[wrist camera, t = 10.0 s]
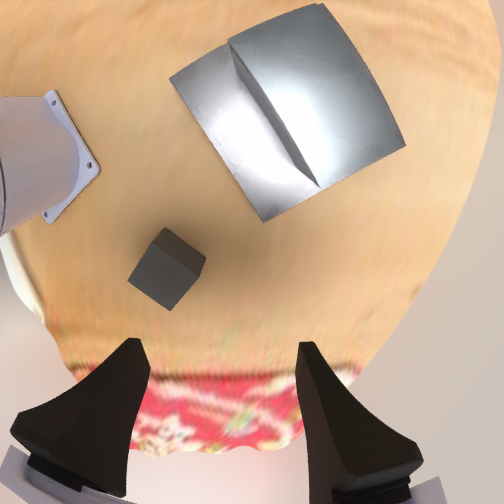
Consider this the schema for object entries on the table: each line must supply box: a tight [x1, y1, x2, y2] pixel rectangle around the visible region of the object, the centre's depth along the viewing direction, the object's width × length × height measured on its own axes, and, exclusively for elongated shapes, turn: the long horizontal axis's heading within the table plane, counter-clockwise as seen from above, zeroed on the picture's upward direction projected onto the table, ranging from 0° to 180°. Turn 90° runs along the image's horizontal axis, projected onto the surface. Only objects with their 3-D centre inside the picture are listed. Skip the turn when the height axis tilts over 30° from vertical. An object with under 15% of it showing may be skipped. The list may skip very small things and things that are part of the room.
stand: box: [169, 3, 406, 223], centre depth 15 cm, size 11×11×2 cm
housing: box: [227, 3, 400, 189], centre depth 11 cm, size 4×7×6 cm, turn 31°
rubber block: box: [127, 228, 206, 311], centre depth 20 cm, size 4×4×3 cm
